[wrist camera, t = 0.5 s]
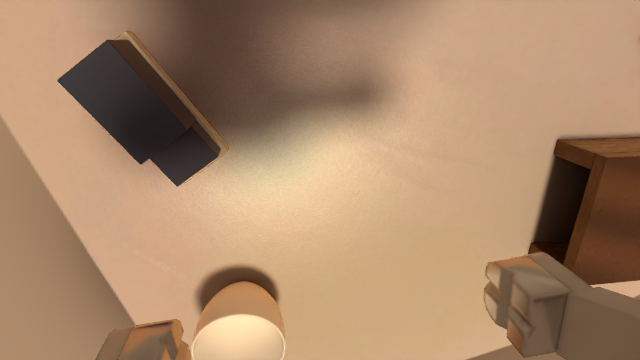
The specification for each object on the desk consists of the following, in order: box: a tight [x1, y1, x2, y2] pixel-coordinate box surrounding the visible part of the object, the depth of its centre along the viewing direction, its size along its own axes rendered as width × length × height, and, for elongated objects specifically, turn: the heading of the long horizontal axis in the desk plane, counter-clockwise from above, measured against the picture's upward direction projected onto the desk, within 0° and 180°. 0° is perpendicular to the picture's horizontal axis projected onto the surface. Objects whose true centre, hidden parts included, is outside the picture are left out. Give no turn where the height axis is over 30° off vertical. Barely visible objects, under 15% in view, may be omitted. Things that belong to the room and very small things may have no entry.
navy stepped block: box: [57, 32, 229, 187], centre depth 26 cm, size 11×5×5 cm, turn 35°
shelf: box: [529, 138, 640, 285], centre depth 35 cm, size 13×12×8 cm
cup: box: [191, 281, 286, 360], centre depth 34 cm, size 8×10×7 cm
